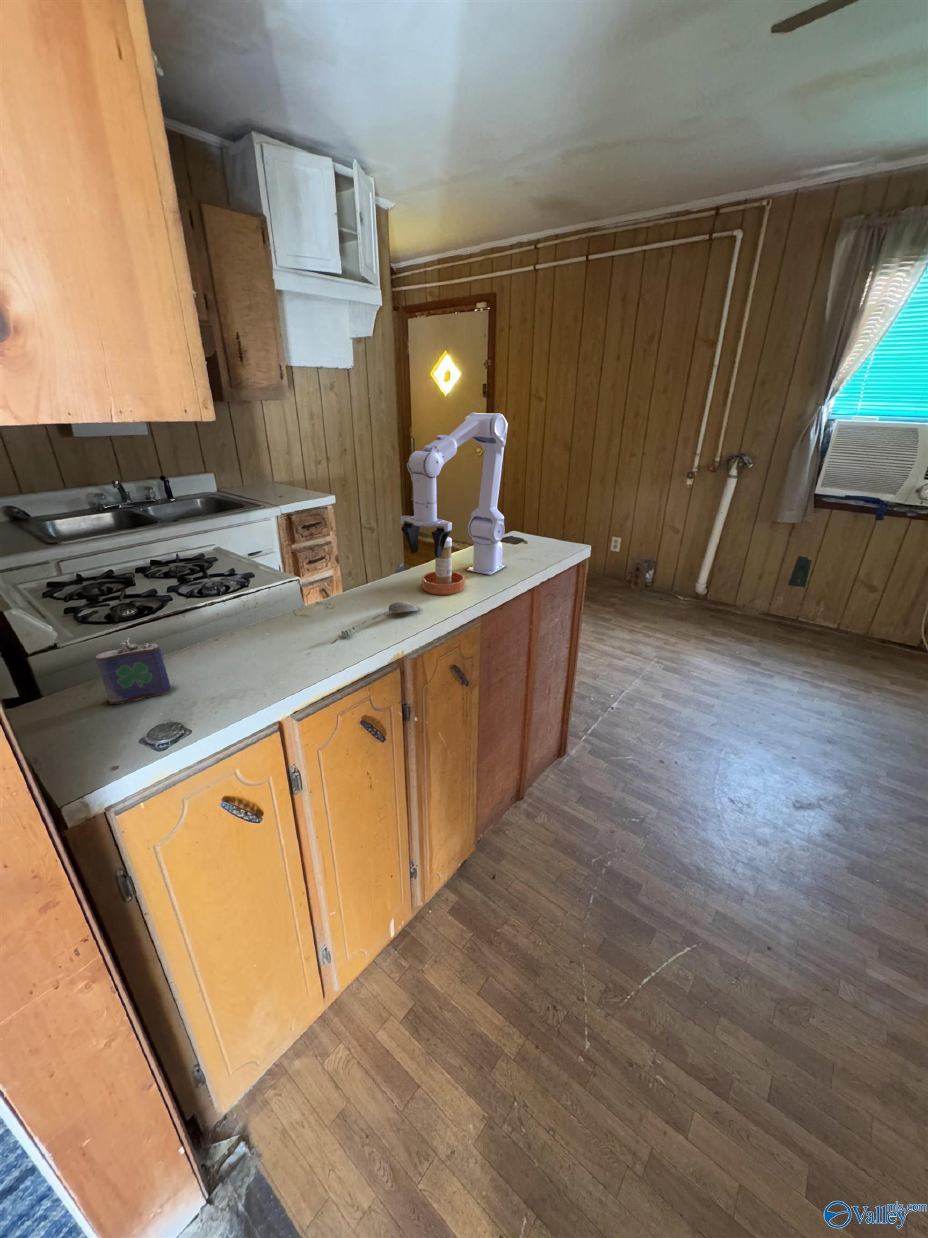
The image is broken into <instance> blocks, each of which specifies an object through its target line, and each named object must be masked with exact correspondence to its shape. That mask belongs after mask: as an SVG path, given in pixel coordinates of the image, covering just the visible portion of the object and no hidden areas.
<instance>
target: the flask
mask: <svg viewBox="0 0 928 1238" xmlns="http://www.w3.org/2000/svg"><path fill="white" fill-rule="evenodd" d="M120 641H121V643H119V646H120V647H121V648H117V649H114V650H108V651H105V652H101V653H99V654H97V655H96V656H95V657H94V658H95V663H96V665H97V667H98V670H99V675H100V676H101V679H102V684H103V686H104V689H105V693H106V695H107V699H108V701H109V703H110V704H111V705H115V704H116V705H117V704H124V703H125V702H133V701H138V700H142V699H144V698H151V697H157V696H161V695H166V694H168V693H170V692H171V691H172V688H171V687H172V686H171V684H170V679H169V676H168V673H167V668H166V664H165V662H164V656H163V654H162V650H161V648H160V646H159V644H156V643H148V642H147V643H144V644H137V643H133V642H132V643H131V642H130V638H129V637H127V638H124V639H121V640H120Z"/></svg>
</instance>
